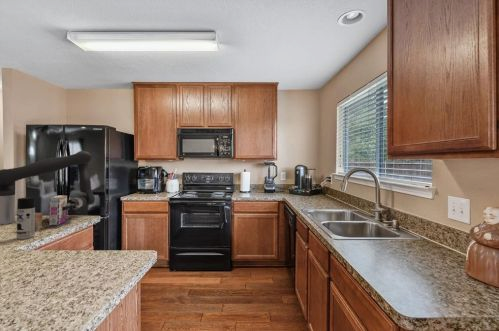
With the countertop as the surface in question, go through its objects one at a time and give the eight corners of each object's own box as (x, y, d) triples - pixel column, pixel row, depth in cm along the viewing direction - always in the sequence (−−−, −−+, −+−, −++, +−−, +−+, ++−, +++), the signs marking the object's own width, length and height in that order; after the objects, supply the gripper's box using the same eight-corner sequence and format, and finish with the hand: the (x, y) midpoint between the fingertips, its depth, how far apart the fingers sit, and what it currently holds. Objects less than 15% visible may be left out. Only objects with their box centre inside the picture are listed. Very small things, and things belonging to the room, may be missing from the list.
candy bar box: (58, 225, 144) (59, 197, 144) (48, 225, 143) (49, 197, 142) (67, 221, 155) (67, 195, 155) (57, 221, 153) (58, 195, 153)
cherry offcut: (27, 222, 136) (27, 214, 136) (34, 220, 141) (34, 212, 141) (35, 222, 137) (35, 214, 137) (42, 220, 141) (42, 212, 141)
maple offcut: (27, 230, 136) (27, 222, 136) (32, 228, 141) (32, 220, 140) (37, 230, 137) (37, 222, 137) (41, 228, 142) (42, 220, 142)
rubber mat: (44, 228, 142) (44, 227, 142) (59, 222, 155) (59, 221, 155) (57, 227, 143) (57, 226, 143) (70, 222, 156) (70, 221, 156)
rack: (17, 232, 133) (17, 224, 133) (45, 222, 155) (46, 215, 155) (35, 231, 134) (35, 224, 134) (61, 222, 157) (61, 215, 157)
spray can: (13, 239, 121) (13, 198, 121) (28, 235, 128) (28, 196, 128) (23, 240, 120) (23, 199, 120) (38, 236, 126) (38, 197, 126)
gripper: (61, 198, 163) (44, 202, 147) (85, 198, 165) (70, 202, 148) (61, 209, 163) (43, 215, 147) (85, 209, 165) (70, 214, 149)
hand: (57, 208), depth 148 cm, fingers closed on candy bar box, 5 cm apart
